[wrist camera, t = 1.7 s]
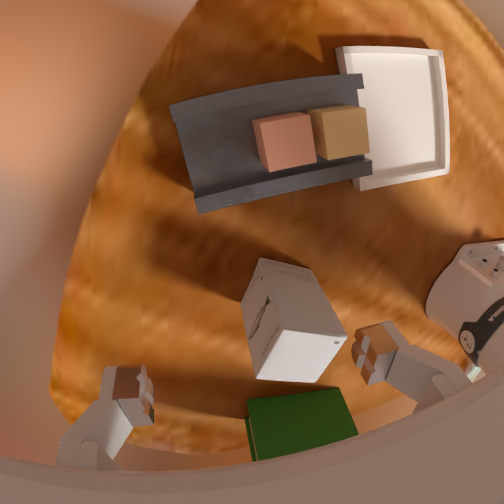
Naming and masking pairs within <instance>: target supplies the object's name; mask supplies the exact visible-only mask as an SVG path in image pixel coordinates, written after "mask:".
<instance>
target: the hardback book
mask: <svg viewBox="0 0 504 504" xmlns="http://www.w3.org/2000/svg"><path fill="white" fill-rule="evenodd" d="M247 407H248V413H249V417H245V424H246V430H247V435H248V441H249V446H250V451H251V457H252V462H255V461H260V460H266V459H271V458H276V457H281V456H285V455H290V454H294V453H298V452H302V451H306V450H310V449H314V448H317V447H321V446H325V445H328V444H332V443H335V442H338V441H342V440H345V439H348V438H351V437H354V436H357V435H359V433H358V431H357V428H356V426H355V424H354V421H353V419H352V417H351V414H350V412H349V410H348V407H347V405H346V403H345V400H344V398H343V396H342V393H341V391H340V389H339V387H338V388H332V389H326V390H320V391H313V392H307V393H299V394H292V395H284V396H275V397H266V398H255V399H247Z"/></svg>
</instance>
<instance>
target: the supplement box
mask: <svg viewBox="0 0 504 504" xmlns="http://www.w3.org/2000/svg"><path fill="white" fill-rule="evenodd" d="M241 309H242V315H243V320H244V325H245V330H246V335H247V340H248V345H249V349H250V354H251V359H252V364H253V369H254V373H255V378H256V379H263V380H275V381H290V382H309V383H315V382H316V381H317V380H318V378H319V377H320V375H321V374H322V373H323V371H324V370H325V369H326V367H327V366H328V364H329V363H330V362H331V361H332V359H333V358H334V356H335V355H336V353H337V352H338V350H339V349H340V347H341V346H342V345H343V343H344V342H345V340H346V339H347V337H348V336H347V334H346V332H345V330H344V328H343V326H342V324H341V322H340V321H339V319H338V317H337V315H336V313H335V312H334V310H333V308H332V306H331V304H330V302H329V301H328V299H327V297H326V295H325V293H324V292H323V290H322V288H321V286H320V285H319V283H318V281H317V279H316V277H315V276H314V274H313V272H312V270H311V269H307V268H303V267H299V266H295V265H291V264H287V263H283V262H279V261H275V260H270V259H266V258H261V257H260V258H259V260H258V263H257V266H256V269H255V271H254V274H253V276H252V279H251V281H250V283H249V286H248V288H247V290H246V292H245V295H244V297H243V299H242V301H241Z"/></svg>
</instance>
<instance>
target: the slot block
mask: <svg viewBox="0 0 504 504" xmlns="http://www.w3.org/2000/svg"><path fill="white" fill-rule="evenodd" d="M357 89H364V83H363V76H362V73H355V74H338V75H326V76H316V77H307V78H298V79H291V80H284V81H277V82H270V83H264V84H259V85H253V86H248V87H242V88H237V89H232V90H228V91H223V92H219V93H214V94H210V95H206V96H202V97H198V98H194V99H190V100H186V101H182V102H179V103H175V104H172V105H169V108H170V111H171V115H172V119H173V122H175V124H176V128H177V131H178V135H179V139H180V143H181V147H182V150H183V154H184V158H185V161H186V165H187V169H188V172H189V176H190V180H191V183H192V187H193V190H194V200H195V204H196V207H197V211H198V214H202V213H206V212H210V211H213V210H217V209H221V208H225V207H229V206H233V205H237V204H241V203H246V202H250V201H254V200H258V199H262V198H266V197H271V196H275V195H279V194H284V193H288V192H293V191H297V190H302V189H306V188H311V187H315V186H320V185H325V184H330V183H334V182H339V181H344V180H349V179H354V178H359V177H364V176H369V175H373V170H372V160H370V159H368V158H366V157H365V155H364V154H361V155H355V156H349V157H344V158H338V159H332V160H327V159H325V158H323V157H322V156H320V155H318V154H316V160H317V163H311V164H306V165H301V166H296V167H292V168H287V169H282V170H277V171H273V172H269V171H268V170H267V169H266V168H265V167H264V165H263V164H262V163H261V162H260V158H259V153H258V148H257V143H256V138H255V133H254V128H253V123H252V119H256V118H261V117H266V116H271V115H277V114H282V113H288V112H294V111H296V112H300V113H305V114H306V110H307V109H314V108H322V107H329V106H338V105H351V106H357V107H359V100H358V92H357Z"/></svg>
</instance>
